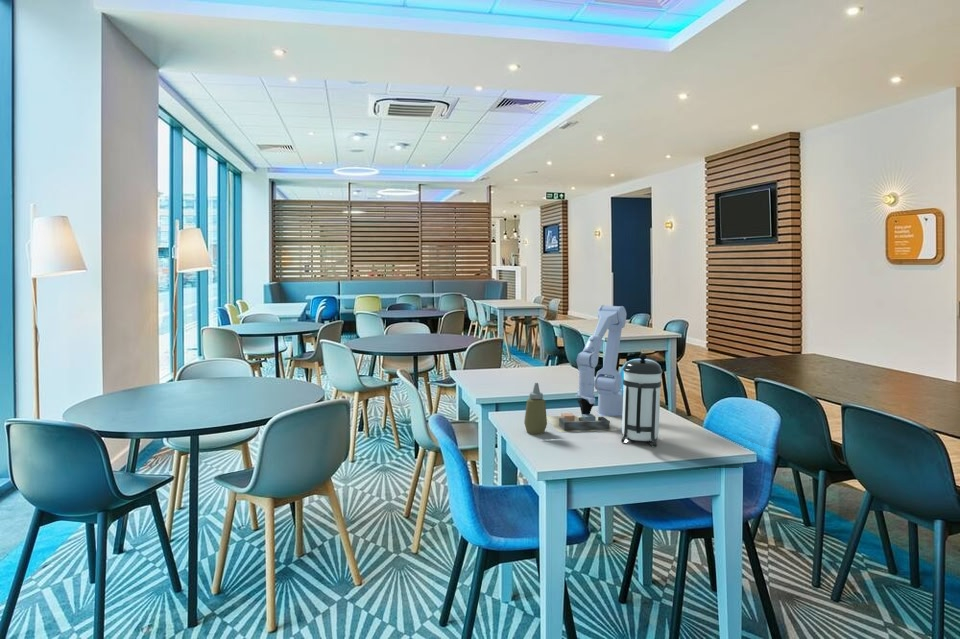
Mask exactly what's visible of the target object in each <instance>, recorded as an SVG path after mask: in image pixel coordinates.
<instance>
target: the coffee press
mask: <svg viewBox="0 0 960 639" xmlns="http://www.w3.org/2000/svg"><path fill="white" fill-rule="evenodd" d="M646 358H647V354H645V353H640V355H639V359H635V360H629V361H627V362H626V363H625V364H624V366H623V367H622V372H623V378H622V386H623V389H622V390H623V393H622V396H623V414H622V415H621V417H622V418H621V420H622V421H621V422H622V423H621V433H622V435H623V436H622V438H621V440H620V442H621V443H623V444H628V442H629V441H630V440H632V441H638V442H639V441H640V442H648V443H649V445H650V447H652V446H654V447H657V444H658V443H657V441H656V440H658V439H659V431H660V430H659V429H660V411H661V410H660V409H661V408H660V407H661V406H660V405H661V387H662V374H663V369H662V368H661V365H660V364H659V363H658V362H655V361H651V360H646Z"/></svg>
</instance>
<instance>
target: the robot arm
mask: <svg viewBox="0 0 960 639" xmlns="http://www.w3.org/2000/svg"><path fill="white" fill-rule="evenodd" d="M627 315H628V314H627V311H626V308H625V306H623V305H621V306H620V305H619V306H617V305H604V304H603V305H600V306H599V308H598V311H597V318H598V321H597V325H596V326H595V329H594V332H593V335H591V336H589V338H587V341H586V343H585V345H584V348H583V350H582V351H580V352H579V353H577V357H576V365H577V370H578V373H579V374H578V390H577V393H576V394H575V397H577V398H578V399H577V402H578V405H579V408H580V414H581V415H582V414H591V411H592V409H593V406H594V405H596V398H595V390H596V392H597V394H598V395H597V396H598V399H597V410H594V413H597V415H599V417H607V416H608V417H610V416H612V417H615V416H622V414H623V393H621V392H620V391H621V390H622V386H623V381H622V379H623V378H622V374H621V373H620V372H619V371H618V369H617V365H618V364H617V363H618V357H619V351H620V350H619V349H620V343H621V337H622V330H623V329H624V328H625V326H626V320H627ZM607 331H608V333H607ZM606 333H607V338H606V346H605V347H606V348H605V353H604V360H603V364H602V365H603V366H602V367H601V369H599V370H598V371H597V372H596V373H595V370H596V367H597V366H598V363H599V358H600V351H601V349H602V347H603V344H604V341H603V338H604V336H605V334H606ZM595 374H596V376H595ZM579 398H580V399H579Z"/></svg>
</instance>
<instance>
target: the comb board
mask: <svg viewBox="0 0 960 639" xmlns="http://www.w3.org/2000/svg"><path fill="white" fill-rule="evenodd" d="M593 415H594V414H593ZM574 416H575V421H568V420H567V419H565V418H561V415H557V416H556V415H555V416H554V415H553V416H550V415H549V416H548V415H547V416H546V417H547V423H549V424H550V425H551V427H553V428H554V429H555V430H557V431H558V432H559V433H575V432H578V433H579V432H581V433H582V432H607V431H608V432H609V431H611V432H613V431H614V432H615V431H618V430H617V429H616V428H614V427H613V426H612V425H610V424H611V421H610V420H608V419H607V418H606V417H605V416H597V415H596V414H595V415H594V416H595V417H596V419H595V421H588V420H587V419H586V418H584V417H582V415H574Z"/></svg>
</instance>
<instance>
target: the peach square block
mask: <svg viewBox="0 0 960 639" xmlns="http://www.w3.org/2000/svg"><path fill="white" fill-rule="evenodd" d="M560 416H561V418H565V419H567V420H568V421H575V416H576V415H574V414H573V413H571V412H569V413H561V414H560Z"/></svg>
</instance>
